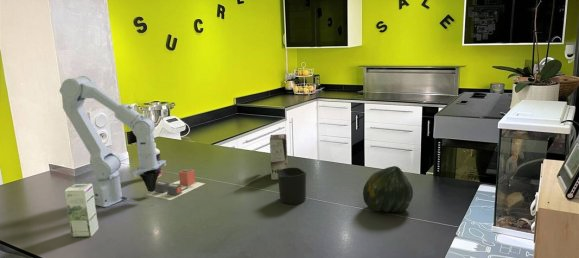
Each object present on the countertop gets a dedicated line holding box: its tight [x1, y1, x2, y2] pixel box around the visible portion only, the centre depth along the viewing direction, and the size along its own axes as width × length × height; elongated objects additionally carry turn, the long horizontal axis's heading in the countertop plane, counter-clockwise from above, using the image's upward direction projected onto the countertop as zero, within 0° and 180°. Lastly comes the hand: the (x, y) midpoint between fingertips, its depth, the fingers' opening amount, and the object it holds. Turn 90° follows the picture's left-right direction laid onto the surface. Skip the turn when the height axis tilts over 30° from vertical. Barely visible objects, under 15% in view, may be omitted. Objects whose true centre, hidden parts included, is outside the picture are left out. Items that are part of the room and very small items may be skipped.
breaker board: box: [145, 179, 206, 201], centre depth 157 cm, size 18×12×1 cm, turn 151°
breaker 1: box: [155, 181, 170, 193], centre depth 155 cm, size 3×4×3 cm
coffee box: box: [269, 133, 289, 180], centre depth 169 cm, size 9×6×16 cm
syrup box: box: [64, 183, 99, 238], centre depth 125 cm, size 6×6×14 cm
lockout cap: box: [178, 168, 196, 186], centre depth 162 cm, size 4×4×5 cm
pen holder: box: [277, 167, 307, 205], centre depth 145 cm, size 9×9×10 cm
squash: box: [362, 165, 414, 213], centre depth 134 cm, size 14×15×15 cm
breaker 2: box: [167, 183, 182, 196], centre depth 152 cm, size 3×5×3 cm, turn 61°
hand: (151, 190), depth 150 cm, fingers closed
